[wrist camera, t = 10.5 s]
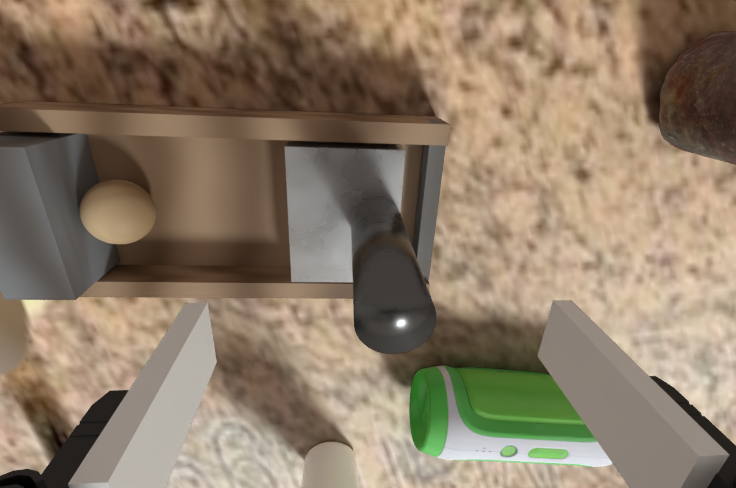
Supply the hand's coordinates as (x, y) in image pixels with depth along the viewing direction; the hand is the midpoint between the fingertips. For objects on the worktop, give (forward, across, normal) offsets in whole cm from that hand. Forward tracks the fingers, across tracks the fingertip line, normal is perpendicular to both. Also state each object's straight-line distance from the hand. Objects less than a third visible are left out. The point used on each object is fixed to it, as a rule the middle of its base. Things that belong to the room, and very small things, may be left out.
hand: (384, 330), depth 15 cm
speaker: (+15, +14, -18) cm, 27 cm away
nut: (+12, -15, 0) cm, 19 cm away
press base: (+15, -8, 0) cm, 17 cm away
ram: (+13, -1, 0) cm, 13 cm away
